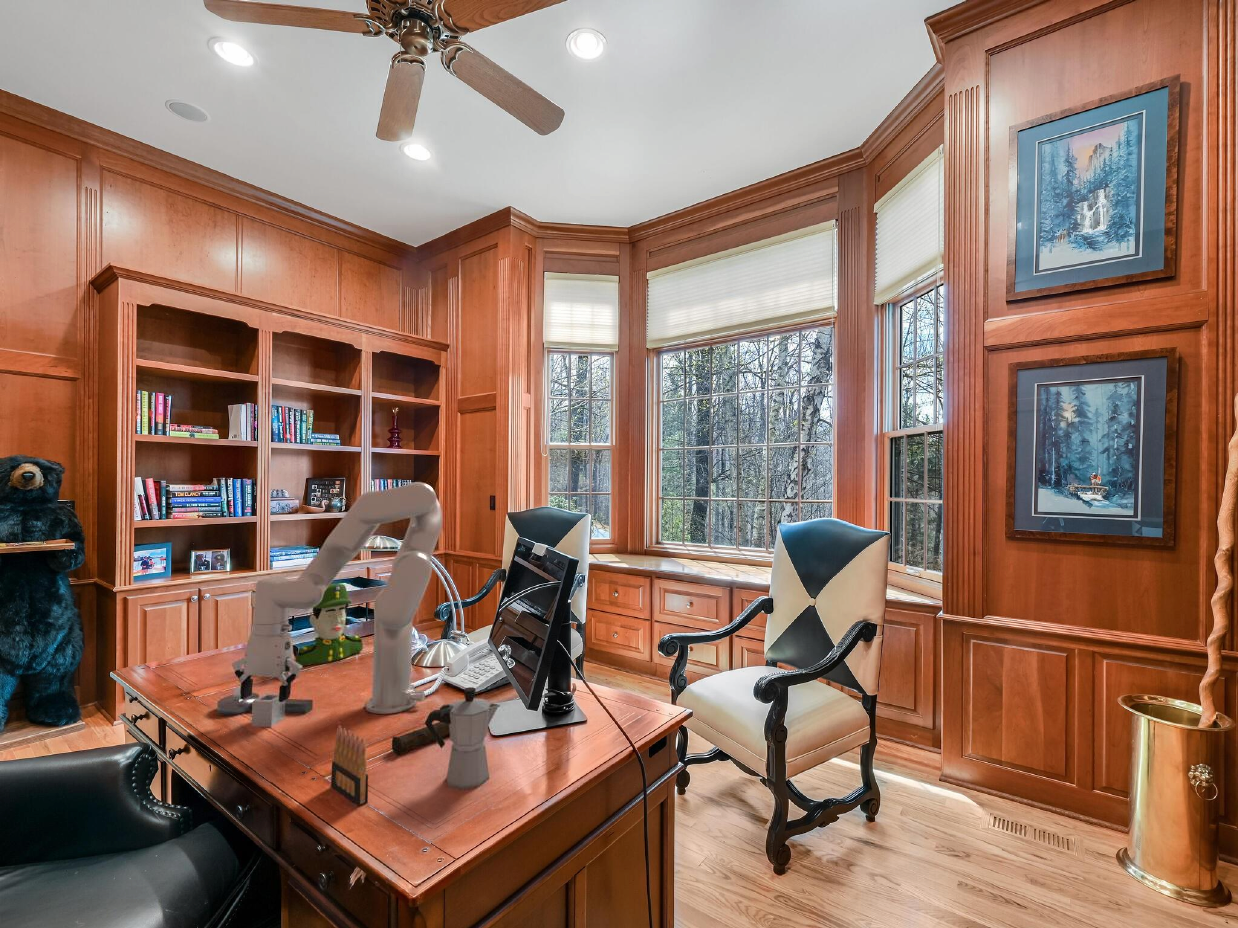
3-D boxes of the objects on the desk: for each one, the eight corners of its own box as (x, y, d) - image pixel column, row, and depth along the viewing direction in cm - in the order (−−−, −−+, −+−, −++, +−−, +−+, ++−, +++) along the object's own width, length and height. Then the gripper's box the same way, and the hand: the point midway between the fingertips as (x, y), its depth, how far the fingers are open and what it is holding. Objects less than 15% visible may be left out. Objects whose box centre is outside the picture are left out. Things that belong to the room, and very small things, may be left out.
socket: (284, 718, 142) (285, 693, 143) (271, 726, 138) (272, 701, 138) (265, 717, 143) (266, 693, 143) (251, 725, 138) (252, 700, 138)
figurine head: (304, 671, 176) (306, 590, 177) (287, 663, 183) (289, 586, 184) (371, 655, 194) (373, 581, 195) (353, 648, 201) (355, 577, 202)
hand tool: (398, 758, 123) (399, 737, 124) (390, 752, 126) (391, 731, 126) (474, 731, 137) (474, 712, 137) (465, 726, 140) (465, 707, 140)
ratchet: (319, 704, 151) (319, 683, 151) (298, 718, 142) (298, 696, 142) (234, 701, 153) (234, 680, 153) (208, 715, 144) (209, 693, 144)
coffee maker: (495, 762, 122) (497, 677, 123) (503, 782, 114) (505, 692, 114) (422, 774, 116) (424, 686, 117) (424, 797, 108) (427, 701, 109)
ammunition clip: (368, 802, 106) (369, 737, 107) (358, 806, 105) (360, 741, 105) (340, 783, 113) (341, 722, 113) (330, 787, 111) (332, 725, 112)
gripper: (312, 627, 144) (308, 695, 143) (247, 622, 145) (242, 690, 144) (294, 634, 136) (289, 706, 136) (225, 630, 137) (219, 701, 137)
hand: (264, 698), depth 140 cm, fingers open, 9 cm apart
